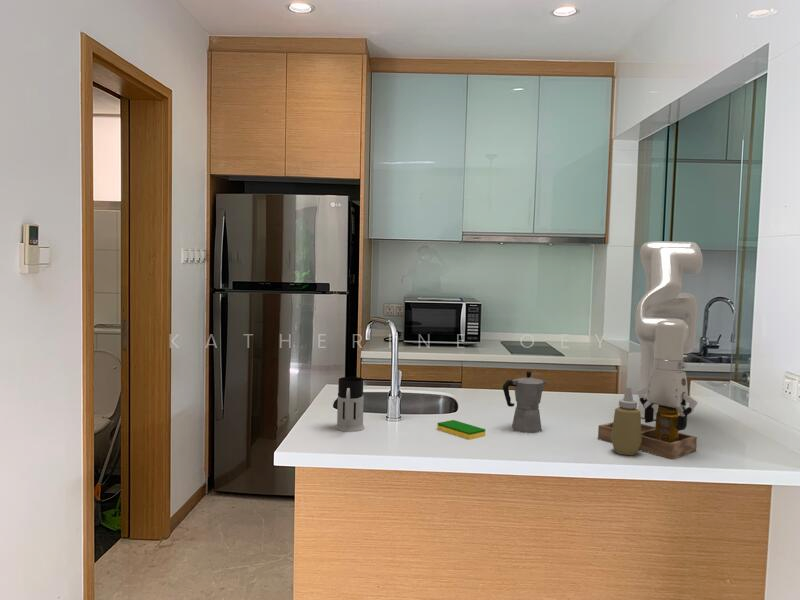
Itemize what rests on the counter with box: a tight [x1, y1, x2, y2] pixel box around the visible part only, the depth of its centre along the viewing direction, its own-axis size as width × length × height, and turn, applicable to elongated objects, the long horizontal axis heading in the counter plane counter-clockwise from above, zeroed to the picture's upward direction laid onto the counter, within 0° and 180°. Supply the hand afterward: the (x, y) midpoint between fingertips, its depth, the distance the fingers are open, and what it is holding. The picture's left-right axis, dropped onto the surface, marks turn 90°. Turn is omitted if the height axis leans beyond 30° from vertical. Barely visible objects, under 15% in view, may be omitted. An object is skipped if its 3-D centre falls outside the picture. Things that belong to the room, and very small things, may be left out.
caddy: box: [597, 421, 698, 460], centre depth 186 cm, size 13×23×4 cm, turn 38°
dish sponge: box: [436, 419, 486, 440], centre depth 195 cm, size 7×14×2 cm, turn 40°
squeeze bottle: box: [611, 387, 642, 456], centre depth 177 cm, size 8×8×18 cm
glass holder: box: [335, 376, 365, 433], centre depth 193 cm, size 9×14×15 cm, turn 179°
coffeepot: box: [502, 371, 548, 434], centre depth 199 cm, size 15×9×18 cm, turn 110°
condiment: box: [655, 405, 680, 443], centre depth 181 cm, size 7×8×12 cm
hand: (664, 425), depth 181 cm, fingers open, 9 cm apart
